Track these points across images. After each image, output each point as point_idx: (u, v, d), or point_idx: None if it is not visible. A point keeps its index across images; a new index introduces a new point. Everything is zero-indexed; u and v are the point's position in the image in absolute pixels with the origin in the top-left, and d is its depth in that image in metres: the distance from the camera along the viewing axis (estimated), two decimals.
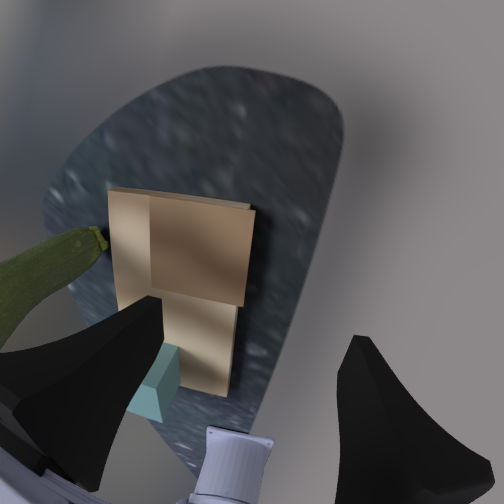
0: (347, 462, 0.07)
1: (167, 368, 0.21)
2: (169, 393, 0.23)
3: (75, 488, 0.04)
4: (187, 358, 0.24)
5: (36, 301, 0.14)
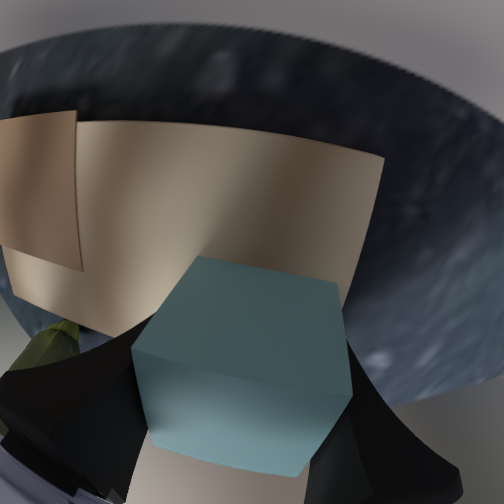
0: (316, 460, 0.07)
1: (172, 295, 0.08)
2: (284, 322, 0.08)
3: (75, 488, 0.04)
4: (234, 241, 0.10)
5: None
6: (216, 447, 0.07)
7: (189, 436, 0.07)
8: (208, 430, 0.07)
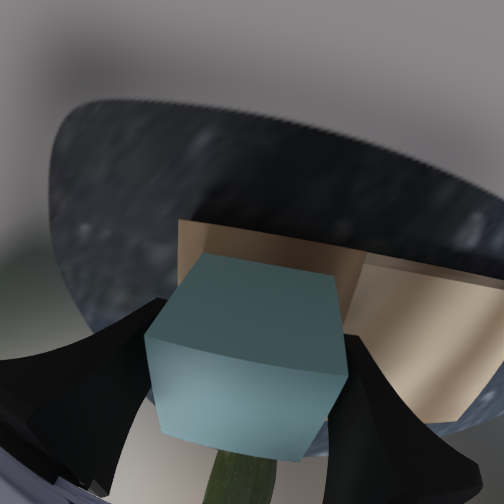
0: (335, 462, 0.07)
1: (180, 289, 0.09)
2: (285, 311, 0.08)
3: (75, 488, 0.04)
4: (459, 351, 0.12)
5: None
6: (222, 432, 0.08)
7: (197, 422, 0.08)
8: (215, 414, 0.08)
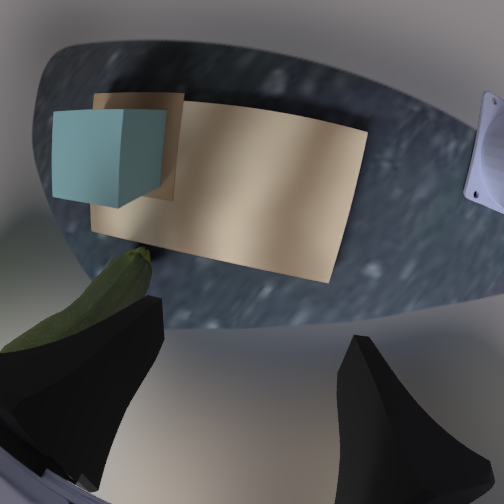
0: (347, 462, 0.07)
1: None
2: None
3: (75, 488, 0.04)
4: (284, 176, 0.17)
5: (85, 316, 0.14)
6: (78, 177, 0.14)
7: (67, 171, 0.14)
8: (74, 158, 0.13)
